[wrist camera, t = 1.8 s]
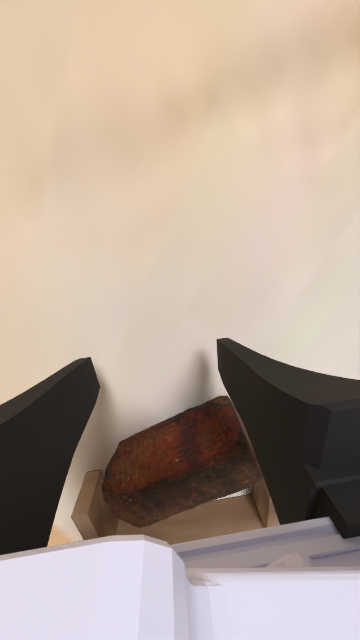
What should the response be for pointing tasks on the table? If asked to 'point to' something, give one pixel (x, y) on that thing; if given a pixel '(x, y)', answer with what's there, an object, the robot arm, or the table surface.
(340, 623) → the robot arm
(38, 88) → the table surface
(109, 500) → the brick
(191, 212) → the table surface
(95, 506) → the book rack
